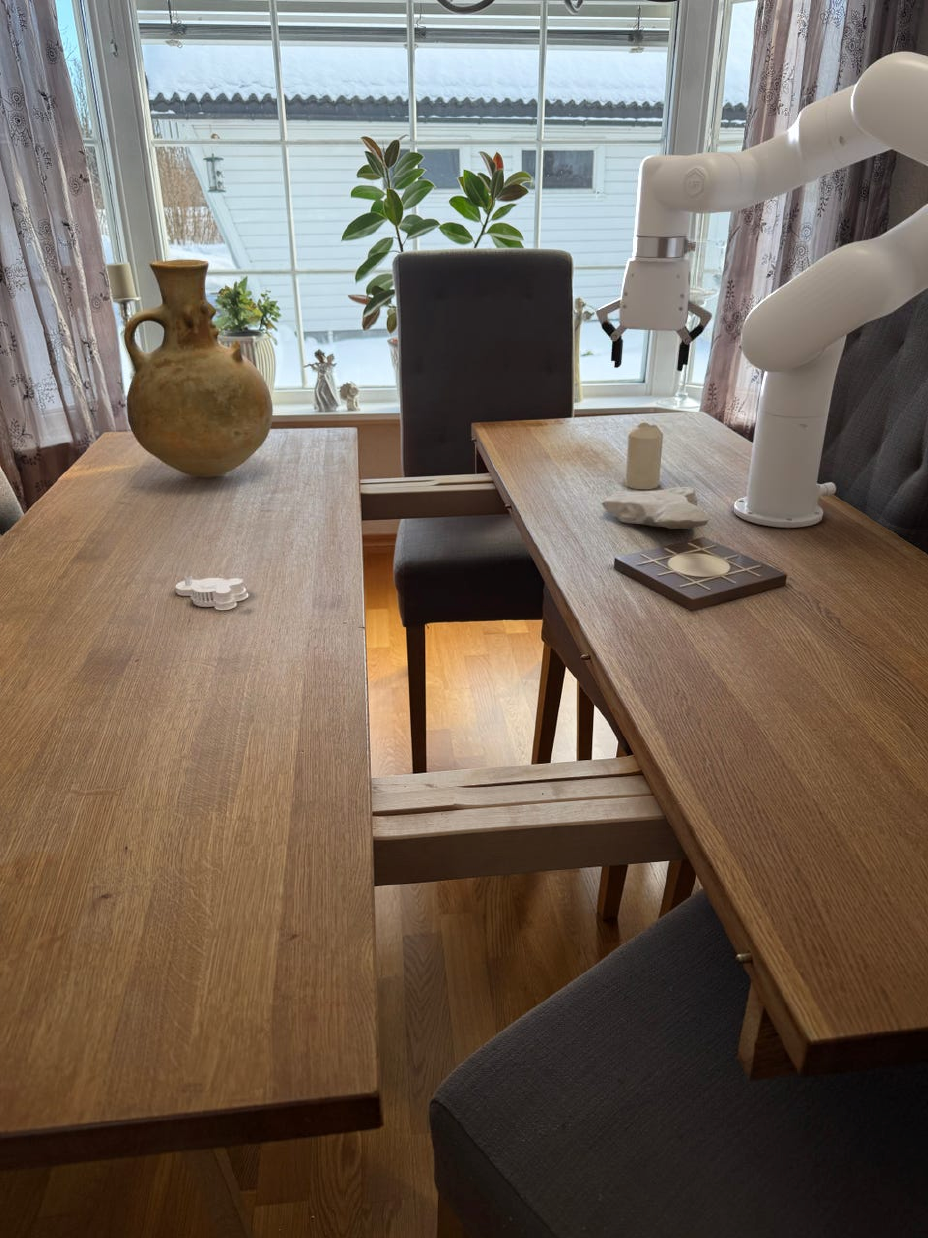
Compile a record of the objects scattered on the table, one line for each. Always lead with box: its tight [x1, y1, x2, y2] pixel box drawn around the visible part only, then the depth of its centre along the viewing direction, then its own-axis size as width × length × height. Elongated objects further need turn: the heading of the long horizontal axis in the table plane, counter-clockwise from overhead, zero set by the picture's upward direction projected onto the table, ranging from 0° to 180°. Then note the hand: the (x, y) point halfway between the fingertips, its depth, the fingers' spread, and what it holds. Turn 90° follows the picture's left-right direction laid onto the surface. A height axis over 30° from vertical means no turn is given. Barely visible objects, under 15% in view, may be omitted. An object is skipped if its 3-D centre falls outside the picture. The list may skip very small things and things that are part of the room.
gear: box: [175, 574, 250, 611], centre depth 107 cm, size 9×9×2 cm
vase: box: [123, 258, 274, 478], centre depth 148 cm, size 24×24×35 cm
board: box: [613, 536, 788, 612], centre depth 111 cm, size 15×15×2 cm
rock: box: [601, 486, 709, 530], centre depth 129 cm, size 21×5×15 cm
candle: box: [624, 422, 664, 490], centre depth 144 cm, size 6×6×10 cm
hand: (648, 367), depth 138 cm, fingers open, 9 cm apart
